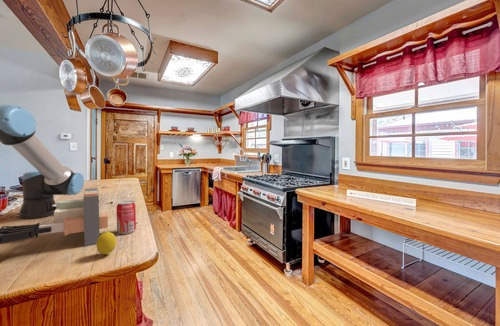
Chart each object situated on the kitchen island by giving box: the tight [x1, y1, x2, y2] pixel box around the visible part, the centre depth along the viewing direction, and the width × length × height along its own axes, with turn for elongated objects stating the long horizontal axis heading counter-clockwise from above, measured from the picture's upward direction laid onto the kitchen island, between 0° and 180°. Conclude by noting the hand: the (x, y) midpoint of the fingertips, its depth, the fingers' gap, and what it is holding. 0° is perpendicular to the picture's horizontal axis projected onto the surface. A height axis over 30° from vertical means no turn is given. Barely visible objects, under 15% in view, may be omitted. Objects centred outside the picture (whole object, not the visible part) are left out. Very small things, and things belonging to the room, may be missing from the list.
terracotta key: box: [63, 213, 109, 236], centre depth 84 cm, size 5×13×5 cm, turn 125°
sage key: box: [55, 198, 84, 210], centre depth 93 cm, size 5×13×5 cm, turn 125°
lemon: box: [96, 230, 117, 256], centre depth 75 cm, size 6×6×8 cm
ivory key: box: [53, 207, 84, 224], centre depth 88 cm, size 5×13×5 cm, turn 125°
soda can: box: [115, 200, 137, 235], centre depth 96 cm, size 7×7×13 cm
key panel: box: [83, 187, 100, 247], centre depth 91 cm, size 20×4×19 cm, turn 35°
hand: (63, 226), depth 80 cm, fingers closed
